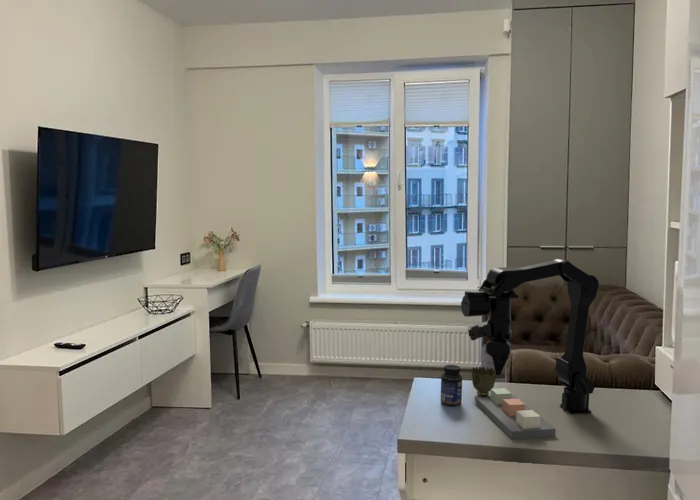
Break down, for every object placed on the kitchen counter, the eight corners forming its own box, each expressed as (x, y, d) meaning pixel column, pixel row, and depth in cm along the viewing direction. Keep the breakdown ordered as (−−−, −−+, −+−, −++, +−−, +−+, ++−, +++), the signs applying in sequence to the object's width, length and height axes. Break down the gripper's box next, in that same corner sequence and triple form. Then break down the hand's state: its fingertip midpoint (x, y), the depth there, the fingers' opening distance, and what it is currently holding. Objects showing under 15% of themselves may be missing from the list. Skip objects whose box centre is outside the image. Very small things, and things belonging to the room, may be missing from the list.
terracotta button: (517, 410, 170) (517, 398, 170) (524, 416, 166) (525, 404, 165) (502, 411, 169) (502, 399, 169) (509, 417, 165) (509, 405, 164)
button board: (514, 402, 180) (514, 395, 180) (555, 436, 157) (555, 428, 157) (476, 404, 178) (476, 397, 178) (511, 439, 155) (511, 431, 155)
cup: (497, 399, 182) (498, 374, 181) (473, 399, 182) (474, 373, 181) (492, 391, 190) (493, 366, 189) (468, 390, 190) (469, 365, 189)
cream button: (531, 422, 162) (532, 409, 161) (539, 429, 157) (540, 416, 157) (515, 423, 161) (516, 410, 160) (523, 430, 157) (524, 417, 156)
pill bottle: (461, 408, 175) (462, 370, 174) (439, 406, 177) (440, 369, 175) (461, 400, 181) (462, 364, 180) (440, 398, 183) (442, 363, 181)
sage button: (504, 399, 178) (504, 388, 178) (510, 404, 174) (511, 393, 174) (490, 400, 177) (490, 388, 177) (496, 405, 173) (496, 394, 173)
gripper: (472, 305, 177) (471, 357, 179) (466, 320, 160) (466, 378, 162) (512, 307, 174) (511, 360, 176) (510, 323, 157) (509, 381, 158)
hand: (498, 369), depth 168 cm, fingers open, 9 cm apart
